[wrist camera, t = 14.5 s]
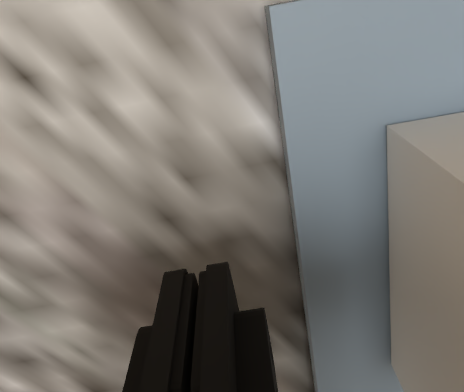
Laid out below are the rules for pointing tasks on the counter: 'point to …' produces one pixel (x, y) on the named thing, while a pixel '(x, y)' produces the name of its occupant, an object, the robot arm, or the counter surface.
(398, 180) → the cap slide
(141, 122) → the counter surface
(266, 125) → the counter surface
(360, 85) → the board
